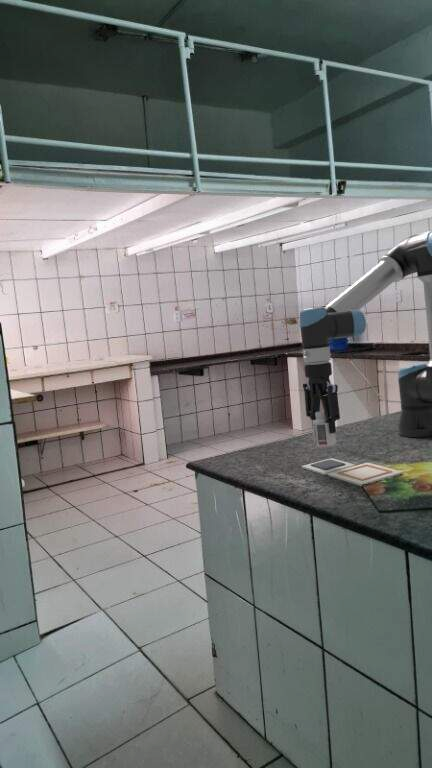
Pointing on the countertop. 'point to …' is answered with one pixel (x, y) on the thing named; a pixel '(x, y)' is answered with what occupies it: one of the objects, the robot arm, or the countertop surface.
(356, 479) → the print card
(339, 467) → the ink pad
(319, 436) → the pill bottle
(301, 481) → the countertop surface
